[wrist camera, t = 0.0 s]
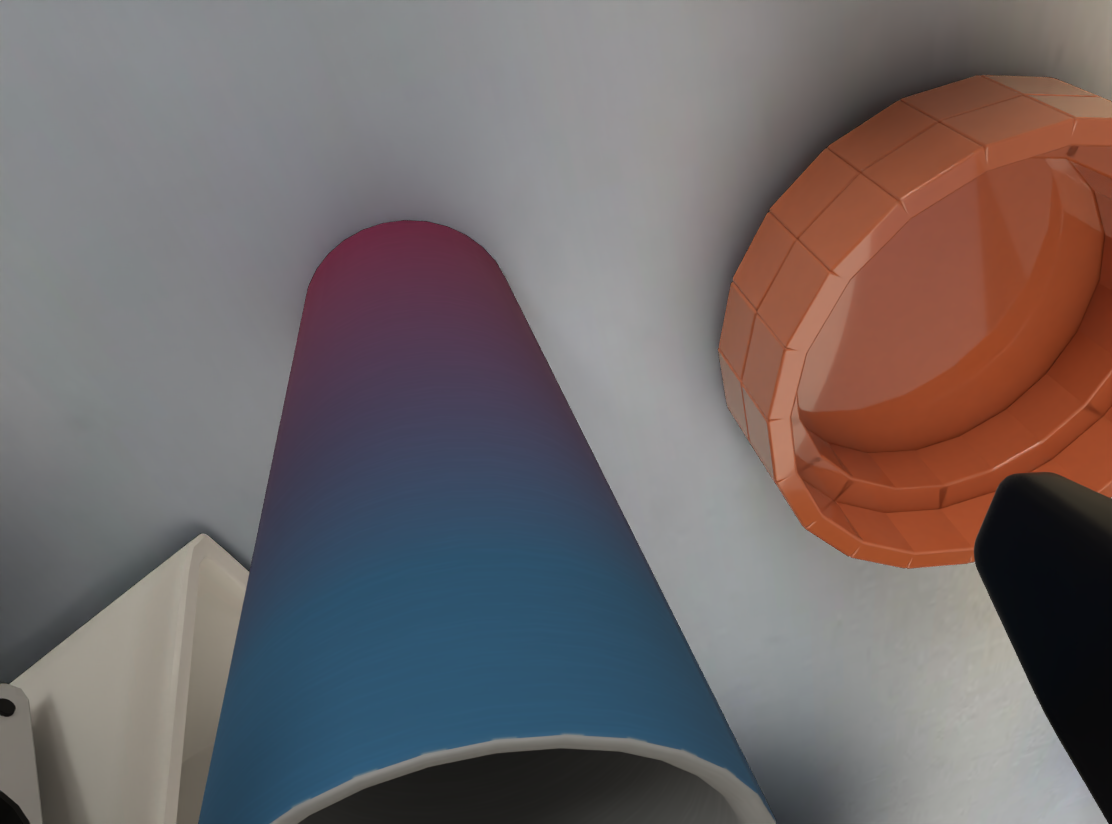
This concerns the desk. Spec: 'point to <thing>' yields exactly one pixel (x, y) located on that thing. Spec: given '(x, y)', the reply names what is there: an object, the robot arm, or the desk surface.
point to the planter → (138, 696)
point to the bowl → (932, 317)
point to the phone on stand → (17, 760)
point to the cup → (452, 583)
